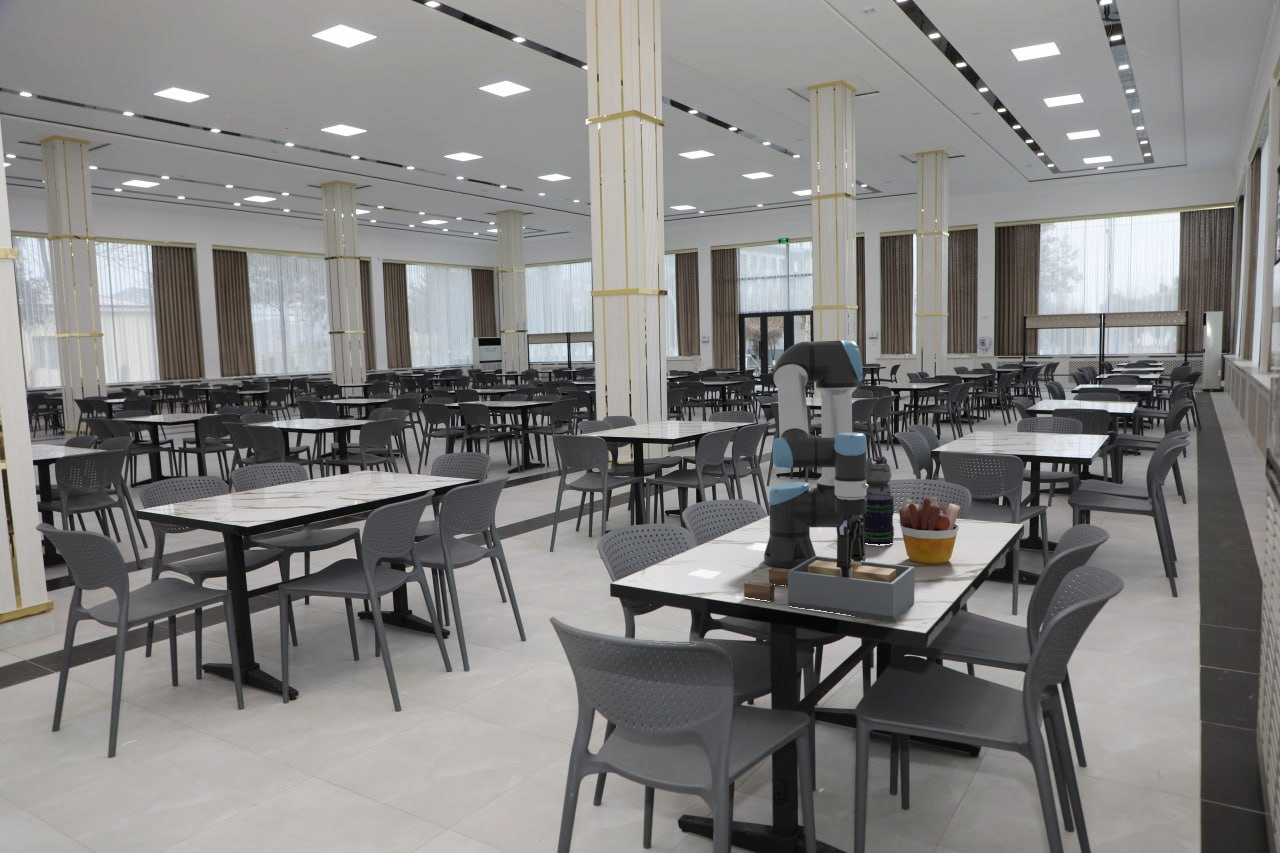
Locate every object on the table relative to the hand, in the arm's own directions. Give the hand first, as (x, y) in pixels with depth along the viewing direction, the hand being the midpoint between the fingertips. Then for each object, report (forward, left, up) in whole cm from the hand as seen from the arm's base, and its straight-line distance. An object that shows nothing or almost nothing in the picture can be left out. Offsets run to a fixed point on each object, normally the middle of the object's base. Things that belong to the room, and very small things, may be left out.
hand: (851, 590), depth 210 cm
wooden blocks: (-22, +2, -4) cm, 22 cm away
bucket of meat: (+5, +53, -4) cm, 53 cm away
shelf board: (0, 0, +3) cm, 3 cm away
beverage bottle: (-23, +93, -4) cm, 96 cm away
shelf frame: (0, 0, -4) cm, 4 cm away
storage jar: (-15, +69, -4) cm, 71 cm away
